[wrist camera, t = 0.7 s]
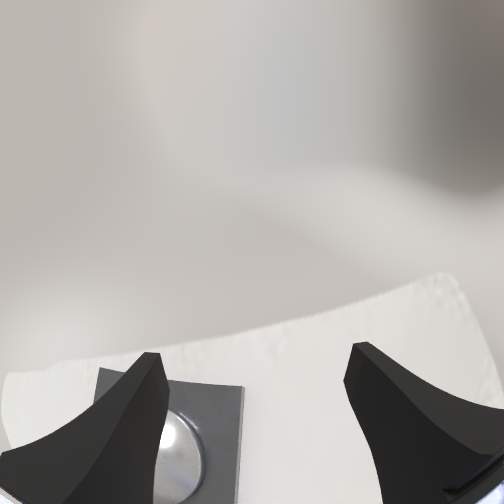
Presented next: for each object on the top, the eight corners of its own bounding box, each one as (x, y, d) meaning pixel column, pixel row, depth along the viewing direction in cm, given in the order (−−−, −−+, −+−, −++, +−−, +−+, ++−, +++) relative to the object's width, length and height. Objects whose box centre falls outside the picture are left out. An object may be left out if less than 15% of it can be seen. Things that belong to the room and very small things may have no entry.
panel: (234, 539, 14) (230, 544, 13) (92, 493, 17) (85, 493, 16) (244, 387, 25) (241, 385, 24) (105, 369, 28) (98, 366, 27)
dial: (201, 517, 15) (180, 531, 11) (103, 483, 17) (74, 485, 14) (209, 412, 22) (188, 408, 18) (112, 394, 25) (83, 384, 21)
